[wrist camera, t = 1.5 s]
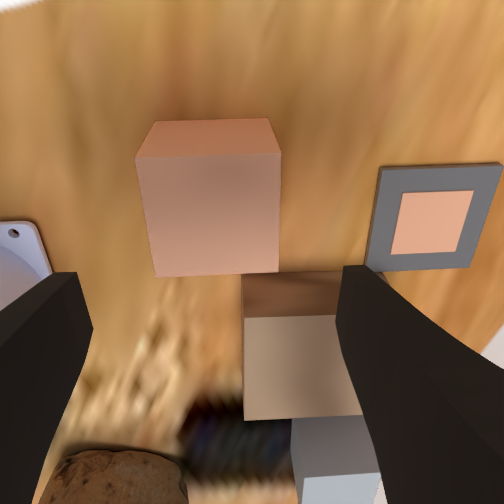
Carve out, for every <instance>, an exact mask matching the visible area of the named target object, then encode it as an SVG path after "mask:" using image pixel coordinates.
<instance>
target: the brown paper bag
mask: <svg viewBox="0 0 504 504" xmlns="http://www.w3.org/2000/svg"><path fill="white" fill-rule="evenodd" d="M38 504H189V501H188V494H187V486H186V484H185V482H184V480H183V478H182V475H181V471H180V469H179V467H178V465H177V464H175V463H174V462H173V461H170V460H167V459H165V458H163V457H161V456H159V455H155V454H151V453H147V452H136V451H122V452H116V453H113V452H111V451H109V450H89V451H82V452H81V453H79V454H77V455H72V456H68V457H65V458H63V459H62V460H61V461H60V462H59V463H58V465H57V466H56V468H55V469H54V471H53V473H52V475H51V477H50V479H49V481H48V483H47V485H46V487H45V489H44V492H43V494H42V496H41V498H40V501H39V503H38Z"/></svg>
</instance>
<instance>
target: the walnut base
mask: <svg viewBox="0 0 504 504" xmlns="http://www.w3.org/2000/svg"><path fill="white" fill-rule="evenodd" d="M342 273H343V271H317V272H278V273H245V274H241V302H242V386H243V406H244V421H245V420H265V419H286V418H306V417H327V416H347V415H363V412H362V410H361V407H360V404H359V401H358V398H357V396H356V393H355V390H354V387H353V385H352V382H351V379H350V376H349V373H348V370H347V367H346V365H345V362H344V359H343V356H342V352H341V348H340V343H339V339H338V334H337V329H336V324H335V318H336V312H337V306H338V299H339V293H340V286H341V280H342ZM375 273H376V274H377V275H378V276H379V277H380V278H381V279H383V280H384V281H385V282H386V283H387V284H388V285H389V283H388V281H387V280H386V278H385V276H384V275H383V273H382V272H375ZM389 286H390V285H389Z"/></svg>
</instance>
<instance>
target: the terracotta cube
mask: <svg viewBox="0 0 504 504" xmlns="http://www.w3.org/2000/svg"><path fill="white" fill-rule="evenodd" d="M134 159H135V165H136V170H137V176H138V181H139V187H140V193H141V198H142V204H143V209H144V215H145V221H146V226H147V232H148V237H149V243H150V249H151V254H152V260H153V265H154V271H155V277H156V278H160V277H181V276H203V275H224V274H245V273H266V272H278V265H279V227H280V189H281V150H280V148H279V145H278V143H277V140H276V138H275V135H274V132H273V130H272V127H271V125H270V122H269V120H268V118H245V119H211V120H177V121H155V123H154V125H153V126H152V128H151V130H150V131H149V133H148V135H147V137H146V138H145V140H144V142H143V144H142V145H141V147H140V149H139V150H138V152H137V154H136V156H135V157H134Z"/></svg>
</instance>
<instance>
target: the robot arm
mask: <svg viewBox="0 0 504 504" xmlns="http://www.w3.org/2000/svg"><path fill="white" fill-rule="evenodd" d="M12 229H15V230H17V231H18V232H19V234H15V233H14V232H13V231H12ZM335 324H336V329H337V334H338V339H339V343H340V348H341V352H342V356H343V359H344V362H345V365H346V367H347V370H348V373H349V376H350V379H351V382H352V385H353V387H354V390H355V393H356V396H357V398H358V401H359V404H360V407H361V410H362V412H363V415H364V418H365V421H366V424H367V426H368V430H369V433H370V436H371V439H372V442H373V446H374V450H375V454H376V458H377V462H378V466H379V470H380V474H381V478H382V482H383V486H384V490H385V495H386V499H387V503H388V504H504V369H502V368H500V367H499V366H497V365H495V364H494V363H492V362H491V361H489V360H488V359H486V358H484V357H483V356H481V355H480V354H478V353H477V352H475V351H474V350H472V349H470V348H469V347H467V346H466V345H464V344H463V343H462V342H460V341H459V340H457V339H456V338H454V337H453V336H452V335H450V334H449V333H448V332H446V331H445V330H444V329H442V328H441V327H439V326H438V325H437V324H435V323H434V322H433V321H431V320H430V319H429V318H428V317H426V316H425V315H424V314H423V313H421V312H420V311H419V310H418V309H416V308H415V307H414V306H413V305H412V304H410V303H409V302H408V301H407V300H406V299H404V298H403V297H402V296H401V295H400V294H399V293H397V292H396V291H395V290H394V289H393V288H392V287H391V286H389V285H388V284H387V283H386V282H385V281H384V280H383V279H381V278H380V277H379V276H378V275H377V274H376V273H375V272H373V271H372V270H371V269H370V268H369V267H367V266H366V265H352V266H344V267H343V273H342V280H341V286H340V293H339V299H338V306H337V312H336V318H335ZM92 332H93V326H92V323H91V319H90V316H89V312H88V309H87V306H86V302H85V299H84V295H83V292H82V289H81V285H80V282H79V278H78V275H77V272H58V273H53V272H52V270H51V267H50V264H49V261H48V258H47V255H46V252H45V250H44V247H43V244H42V241H41V238H40V235H39V232H38V229H37V228H36V226H35V225H34V224H33V223H31V222H28V221H7V222H0V504H31V503H32V500H33V497H34V493H35V490H36V487H37V483H38V480H39V477H40V474H41V470H42V467H43V464H44V461H45V458H46V455H47V452H48V450H49V447H50V444H51V442H52V439H53V437H54V434H55V432H56V430H57V427H58V425H59V423H60V420H61V418H62V416H63V413H64V411H65V408H66V406H67V404H68V401H69V399H70V397H71V394H72V392H73V389H74V387H75V385H76V382H77V380H78V377H79V375H80V372H81V370H82V367H83V365H84V362H85V359H86V355H87V352H88V348H89V344H90V340H91V336H92Z"/></svg>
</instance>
